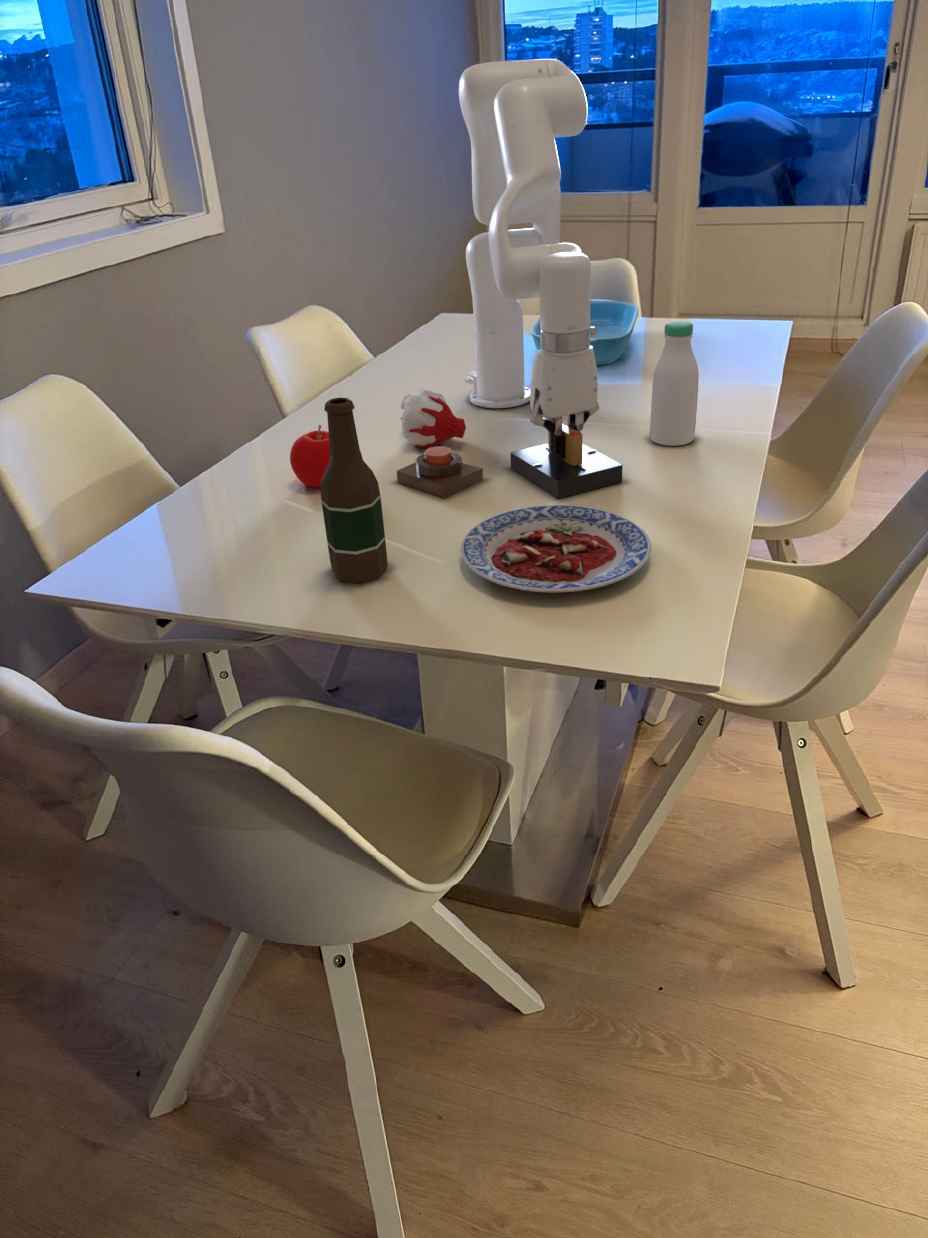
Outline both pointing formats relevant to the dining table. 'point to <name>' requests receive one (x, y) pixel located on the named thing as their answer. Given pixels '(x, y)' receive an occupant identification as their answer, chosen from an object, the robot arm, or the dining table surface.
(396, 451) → the dining table surface
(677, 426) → the milk bottle
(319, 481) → the fruit
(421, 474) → the button block
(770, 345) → the dining table surface
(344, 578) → the beer bottle
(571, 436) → the tap lever
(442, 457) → the button
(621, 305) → the casserole dish
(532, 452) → the plate
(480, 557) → the ceramic plate
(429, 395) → the white and red skull
